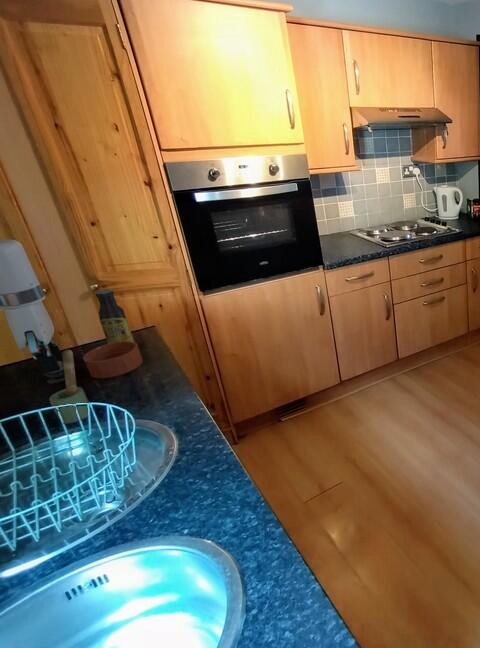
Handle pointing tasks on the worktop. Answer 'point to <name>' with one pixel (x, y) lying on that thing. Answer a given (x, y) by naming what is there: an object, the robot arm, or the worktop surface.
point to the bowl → (113, 359)
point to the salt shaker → (56, 374)
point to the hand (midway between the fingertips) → (52, 365)
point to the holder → (70, 412)
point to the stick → (69, 372)
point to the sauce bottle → (113, 318)
